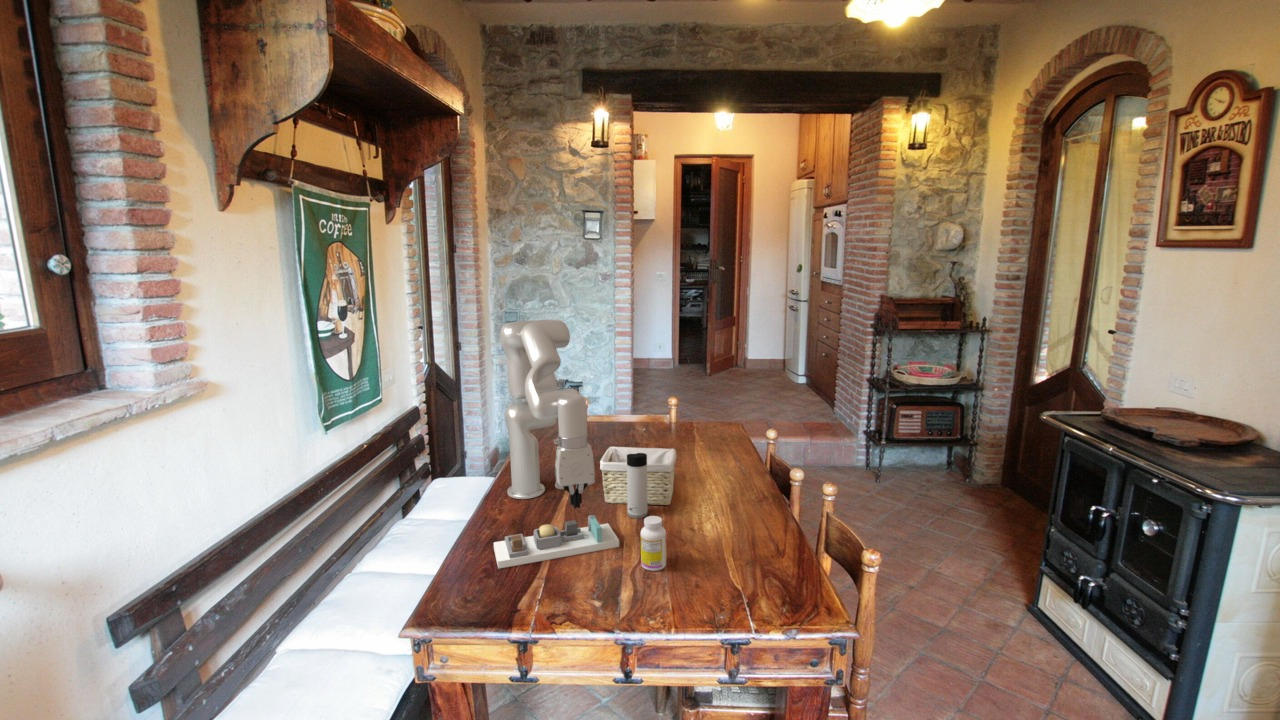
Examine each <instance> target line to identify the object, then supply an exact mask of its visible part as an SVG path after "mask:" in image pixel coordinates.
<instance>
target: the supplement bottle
mask: <svg viewBox="0 0 1280 720" xmlns="http://www.w3.org/2000/svg"><path fill="white" fill-rule="evenodd" d="M662 525H663V518H662V517H660V516H657V515H649V516H648V515H647V516H645V517H644V519H643V527H642V528H641V529H640V564H641V567H642V568H643V569H645V570H647V571H651V572H657V571H660V570H661V571H662V570H663V569H664V568H665V567H666V565H667V530H666V529H665V528H664V526H662Z"/></svg>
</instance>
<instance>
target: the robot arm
mask: <svg viewBox="0 0 1280 720" xmlns="http://www.w3.org/2000/svg"><path fill="white" fill-rule="evenodd" d="M499 332H500V337H499V338H500V343H501V345H502V348H503V351H504V353H505V356H506V362H507V367H506V368H507V383H508V384H507V385H508V386H507V387H508V392H509V395H510V397H511V398H513V399H515V400H524V399H526V401H519V402H515V403H511V404H509V405H508V406H507V407H506V409H505V411H504V417H505V424H506V429H507V432H508V443H509V456H510V458H509V459H510V475H511V476H510V477H511V478H510V479H511V486H509V487H508V488H507V495H508V497H510V498H513V499H517V500H527V499H534V498H536V497H540V496H541V495H543V494H544V492H545V491H546V487H545V485H544V484H543V483H541V479H540V478H541V477H540V476H541V475H540V456H539V455H540V454H539V441H538V439H537V437H536V436H535V435H534V434H533V433H532V432H531V430H536V429H542V428H548V427H552V426H554V425H555V424H557V423H558V425H557V426H558V436H557V438H554V439H553V444H554V445H558V446H557V447H556V450H555V451H556V452H555V461H554V463H555V464H554V475H555V476H554V477H555V484H554V486H555V488H556V489H560V490H565V491H566V492H567V493H568V494H569V504H570V506H572V507H573V509H577V508H578V509H579V508H581V504H582V503H583V500H582V499H583V496H582V494H583V493H584V491H585V489H586V488H587V487H589V486H590V485H593V484H595V483H596V482H595V481H596V480H595V478H596V469H595V462H594V453H593V449H592V445H591V444H590V443H588V441H589V440H588V420H587V419H588V417H587V400H586V397H585V396H583V395H581V394H580V392H579V391H578V390H577V389H575V388H564V389H563V388H562V389H558V382H557V377H556V375H555V374H556V373H555V372H556V371H558V370H559V368H560V366H561V362H562V361H561V357H560V355H559V352H558V350H557V349H560V348H561V349H562V348H566V347H567V346H568V345H569V344H570V341H571V340H570V339H571V334H570V330H569V327H568V325H567V324H566V323H565V322H564V321H562V320H558V319H557V320H556V319H538V320H536V319H535V320H522V321H521V320H520V321H512V322H508V323H505V324H504V325H502V326H501V328H500V331H499ZM575 485H576V488H575V489H574V486H575Z"/></svg>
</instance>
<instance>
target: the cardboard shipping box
mask: <svg viewBox="0 0 1280 720" xmlns="http://www.w3.org/2000/svg"><path fill="white" fill-rule="evenodd" d="M519 534H520V535H517V534H513V535H514V536H512V550H513V552H517V551H523V544H522V537H521V534H522V533H519Z"/></svg>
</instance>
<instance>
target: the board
mask: <svg viewBox="0 0 1280 720" xmlns="http://www.w3.org/2000/svg"><path fill="white" fill-rule="evenodd" d="M600 526H601V528H602V541H601V542H597V541H596V539H595V538H594V536H593V534H592V533H591V532H590V531H588V526H584V527H577V530H578V535H573V536H567V537H566V535H565V529H564V530H563V529H562V530H559V527H558V526H555V525H554V524H542V525H540V526H539V528H535V529H534V530H533V535H530V536H524V535H523V533H517V534H516V535H520V534H521V537H522V544H523V551H517V552H513V550H512V536H514V535H515V534H511V535H506V536H504V540H499V541H495V542H493V551H494V555H495V561H496V564H497V569H498V570H499V569H500V570H501V569H504V568H505V569H506V568H509V567H516V566H522V565H525V564H526V565H527V564H532V563H533V564H534V563H537V562H543V561H549V560H554V559H560V558H564V557H565V558H566V557H570V556H576V555H577V556H578V555H581V554H587V553H593V552H599V551H603V550H604V551H605V550H609V549H614V548H619V547H620V539H619V537H618V536H617V535H616V533H615V532H614V530H613V529H612V527H611V525H610V524H609V523H608V522H607V523H603V524H600Z"/></svg>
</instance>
